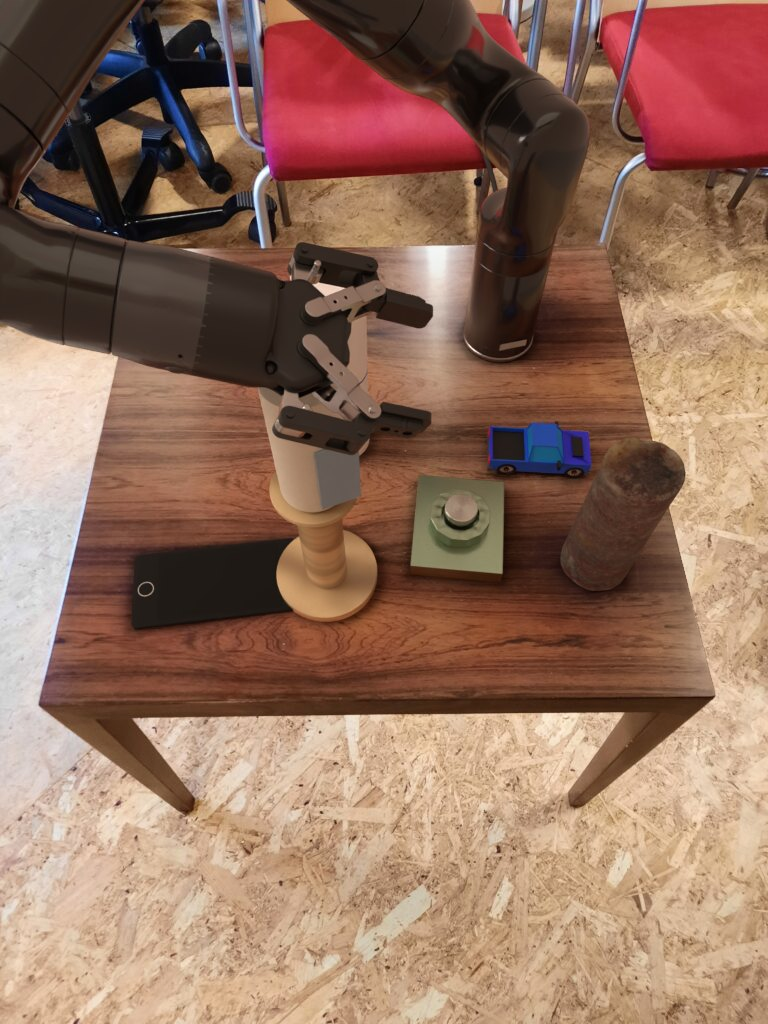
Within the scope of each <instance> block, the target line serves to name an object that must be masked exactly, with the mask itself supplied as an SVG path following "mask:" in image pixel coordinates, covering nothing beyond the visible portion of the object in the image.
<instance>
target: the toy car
mask: <svg viewBox="0 0 768 1024" xmlns="http://www.w3.org/2000/svg"><path fill="white" fill-rule="evenodd" d="M590 443H591V442H590V435H589V431H585V430H584V431H583V430H566V429H565V430H564V429H563V428H561V427H560V426H559V421H554V423H545V422H531V423H529V425H528V426H526V427H507V426H492V425H491V426H489V428H488V431H487V434H486V462H487V463H486V471H491V472H492V471H496V473H497V474H499V475H500V476H511V475H514V474H515V473H516V472H521V473H522V472H524V473H525V472H526V473H544V474H559V475H560V474H561V475H564V476H565V477H566V478H568V479H574V480H575V479H579V478H581V477H590V474H591V469H592V455H591V445H590Z"/></svg>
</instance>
